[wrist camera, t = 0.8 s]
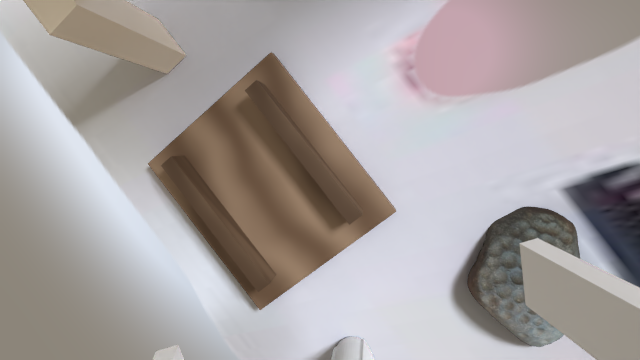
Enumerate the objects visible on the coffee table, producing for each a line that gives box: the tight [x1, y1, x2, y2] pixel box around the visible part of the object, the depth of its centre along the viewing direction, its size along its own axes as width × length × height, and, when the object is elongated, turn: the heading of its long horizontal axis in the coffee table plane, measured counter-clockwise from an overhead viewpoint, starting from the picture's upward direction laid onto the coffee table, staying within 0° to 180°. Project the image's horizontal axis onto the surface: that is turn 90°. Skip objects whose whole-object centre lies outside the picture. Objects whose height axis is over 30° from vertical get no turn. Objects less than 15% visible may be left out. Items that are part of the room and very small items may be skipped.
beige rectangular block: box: [23, 0, 187, 74], centre depth 31 cm, size 3×5×14 cm, turn 39°
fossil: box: [468, 207, 580, 347], centre depth 33 cm, size 10×13×4 cm
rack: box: [148, 52, 396, 310], centre depth 36 cm, size 18×20×4 cm
